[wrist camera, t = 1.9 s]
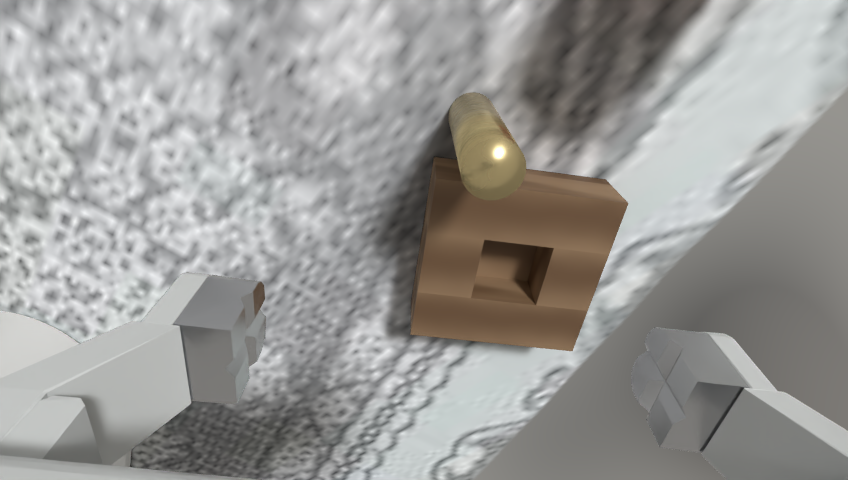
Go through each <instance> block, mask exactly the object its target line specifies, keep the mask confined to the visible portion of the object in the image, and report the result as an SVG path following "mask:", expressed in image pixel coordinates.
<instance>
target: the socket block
mask: <svg viewBox="0 0 848 480" xmlns="http://www.w3.org/2000/svg"><path fill="white" fill-rule="evenodd" d="M627 206H628V202H627V201H626V200H625V199H624V198H623V197H622V196H621V195H620V194H619V193H618V192H617V191H616V190H615V189H614V188H613V187H612V186H611V185H610V184H609V182H608V181H607V180H605V179H598V178H590V177H583V176H575V175H568V174H560V173H553V172H545V171H538V170H530V169H526V173H525V177H524V179H523V182H522V183H521V185H520V186H519V188H518V189H517V190H516V191H515V192H513V193H512V194H511V195H509V196H507V197H505V198H503V199H499V200H483V199H480V198H478V197H475V196H474V195H472V194H471V193H470V192H469V191H468V190H467V189H466V187H465V186H464V184H463V181H462V178H461V174H460V169H459V165H458V160H455V159H447V158H440V157H434V160H433V166H432V173H431V179H430V185H429V192H428V198H427V204H426V211H425V217H424V223H423V230H422V236H421V242H420V249H419V255H418V261H417V268H416V274H415V280H414V287H413V293H412V299H411V335H420V336H430V337H439V338H449V339H459V340H469V341H478V342H488V343H498V344H507V345H517V346H527V347H537V348H546V349H556V350H566V351H573V348H574V345H575V343H576V340H577V337H578V335H579V332H580V329H581V327H582V324H583V322H584V319H585V316H586V314H587V311H588V308H589V306H590V303H591V300H592V298H593V295H594V293H595V290H596V287H597V285H598V282H599V279H600V277H601V274H602V271H603V269H604V266H605V264H606V261H607V258H608V256H609V253H610V250H611V248H612V245H613V243H614V240H615V237H616V235H617V232H618V229H619V227H620V224H621V221H622V219H623V216H624V214H625V211H626V208H627Z"/></svg>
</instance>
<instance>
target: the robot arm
mask: <svg viewBox="0 0 848 480" xmlns="http://www.w3.org/2000/svg"><path fill="white" fill-rule="evenodd" d="M264 300H265V293H264V285H263V283H262V282H261V281H254V280H246V279H239V278H232V277H224V276H217V275H209V274H201V273H192V272H186V273H183V274H181V275H180V276H179V277H178V278H177V279H176V281H175V282H174V283H173V284H172V285H171V287H170V288H169V289H168V290H167V291H166V292H165V294H164V295H163V296H162V297H161V298H160V300H159V301H158V302H157V303H156V304H155V305H154V307H153V308H152V309H151V310H150V311H149V313H148V314H147V315H146V316H145V317H144V318H143V320H142V321H131V322H129V323H126V324H124V325H122V326H119V327H117V328H115V329H113V330H110V331H108V332H106V333H103V334H101V335H99V336H96V337H94V338H92V339H90V340H87V341H85V342H83V343H80V344H79V343H78V342H76V341H75V340H74V339H72V338H71V337H69V336H68V335H66V334H65V333H63V332H61V331H60V330H58V329H56V328H54V327H52V326H50V325H48V324H46V323H43V322H41V321H38V320H36V319H33V318H30V317H27V316H24V315H20V314H16V313H12V312H6V311H0V480H260V479H249V478H238V477H228V476H217V475H207V474H196V473H185V472H175V471H164V470H153V469H143V468H132V467H130V462H131V450H132V449H133V448H134V447H135V446H137V445H138V444H139V443H141V442H142V441H143V440H145V439H146V438H147V437H148V436H150V435H151V434H152V433H154V432H155V431H156V430H158V429H159V428H160V427H161V426H163V425H164V424H165V423H167V422H168V421H169V420H171V419H172V418H173V417H174V416H176V415H177V414H178V413H180V412H181V411H182V410H184V409H185V408H186V407H187V406H189V405H190V404H191V401H199V402H212V403H225V404H238V402H239V400H240V397H241V395H242V393H243V391H244V389H245V387H246V384H247V382H248V380H249V366H251V365H252V364H254V363H255V362H257V360H258V358H259V355H260V353H261V351H262V347H263V343H264V339H265V330H266V316H265V315H264V314H263V313H262V311H261V310H260V308H261V306H262V304H263V302H264ZM645 344H646V347H647V350H648V351H646V352H645V353H643V354H642V355H640V356H639V357H637V359H636V361H635V364H634V366H633V369H632V379H631V384H632V388H633V393H634V395H635V397H636V399H637V401H638V403H639V404H641V405H642V406H643V407H645V408H646V409H647V410H648V411H649V414H648V417H647V422H648V424H649V426H650V428H651V430H652V432H653V434H654V436H655V438H656V441H657V443H658V445H659V447H661V448H669V449H675V450H683V451H691V452H698V453H702V454H701V455H702V456H703V457H704V458H705V459H706V460H707V461H708V462H709V463H710V464H711V465H712V466H713V467H714V468H715V469H716V470H717V471H718V472H719V473H720V474H721V475H722V476H723V477H724V478H725V479H726V480H848V431H847V430H845V429H844V428H842V427H840V426H839V425H837V424H836V423H834V422H832V421H831V420H829V419H828V418H826V417H824V416H822V415H821V414H819V413H818V412H816V411H815V410H813V409H811V408H810V407H808V406H807V405H805V404H803V403H802V402H800V401H798V400H797V399H795V398H794V397H792V396H790V395H789V394H787V393H785V392H779V391H777V390H776V389H775V388H774V386H773V385H772V384H771V383H770V382H769V381H768V379H767V378H766V377H765V376H764V374H763V373H762V372H761V371H760V370H759V368H758V367H757V366H756V365H755V364H754V363H753V361H752V360H751V359H750V358H749V357H748V355H747V354H746V353H745V352H744V351H743V349H742V348H741V347H740V346H739V345H738V343H737V342H736V341H735V340H734V339H733V338H732V337H730V336H728V335H726V334H722V333H709V332H692V331H683V330H673V329H664V328H654V329H653V330H652V331H650V332H649V334H648V336H647V338H646V340H645Z"/></svg>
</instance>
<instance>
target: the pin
mask: <svg viewBox="0 0 848 480" xmlns="http://www.w3.org/2000/svg"><path fill="white" fill-rule="evenodd" d="M448 119H449V124H450V129H451V133H452V138H453V142H454V147H455V151H456V156H457V160H458V165H459V169H460V174H461V178H462V181H463V184H464V186H465V187H466V189H467V190H468V191H469V192H470V193H471V194H472V195H474V196H475V197H478V198H480V199H483V200H499V199H503V198H505V197H507V196H509V195H511V194H512V193H513V192H515V191H516V190H517V189H518V188H519V186H520V185H521V183H522V182H523V179H524V177H525V173H526V161H525V158H524V155H523V153H522V152H521V150H520V148H519V147H518V145H517V143H516V142H515V140H514V138H513V137H512V135H511V134H510V132H509V130H508V129H507V127H506V125H505V124H504V122H503V121H502V119H501V117H500V116H499V114H498V112H497V111H496V109H495V108H494V106H493V104H492V103H491V101H490V100H489V99H488V98H487V97H486V96H484V95H482V94H480V93H466V94H463V95H461V96H460V97H458V98H457V99H456V100H455V101H454V102H453V104H452V105H451V107H450V110H449V115H448Z"/></svg>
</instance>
